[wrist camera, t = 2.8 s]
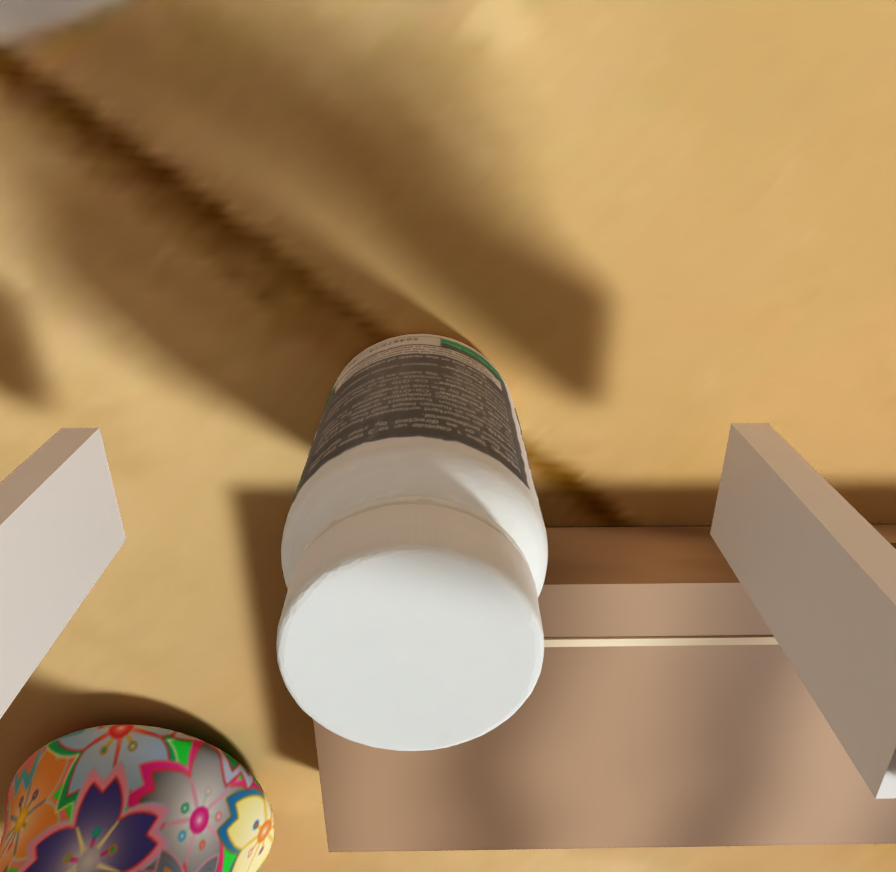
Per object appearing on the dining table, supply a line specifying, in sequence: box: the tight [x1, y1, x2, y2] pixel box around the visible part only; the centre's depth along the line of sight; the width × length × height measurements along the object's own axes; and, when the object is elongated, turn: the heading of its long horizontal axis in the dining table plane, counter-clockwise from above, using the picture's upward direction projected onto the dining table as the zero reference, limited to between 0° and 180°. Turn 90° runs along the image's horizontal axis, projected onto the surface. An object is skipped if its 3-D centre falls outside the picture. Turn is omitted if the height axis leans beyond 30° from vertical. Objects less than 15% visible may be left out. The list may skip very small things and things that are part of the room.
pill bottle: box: [276, 334, 548, 751], centre depth 14 cm, size 5×5×8 cm
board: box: [313, 524, 896, 852], centre depth 20 cm, size 22×10×3 cm, turn 90°
